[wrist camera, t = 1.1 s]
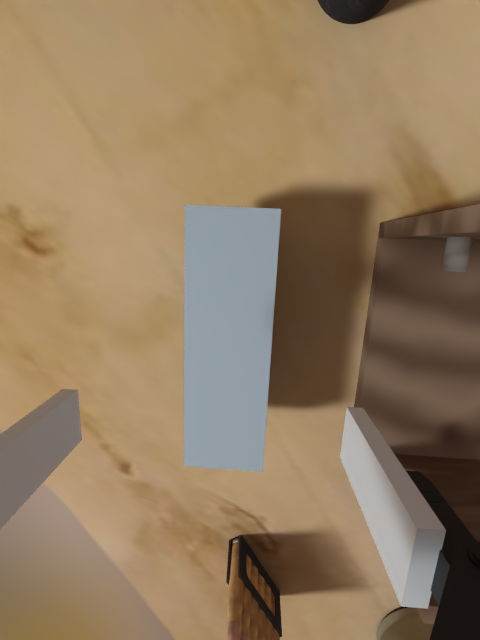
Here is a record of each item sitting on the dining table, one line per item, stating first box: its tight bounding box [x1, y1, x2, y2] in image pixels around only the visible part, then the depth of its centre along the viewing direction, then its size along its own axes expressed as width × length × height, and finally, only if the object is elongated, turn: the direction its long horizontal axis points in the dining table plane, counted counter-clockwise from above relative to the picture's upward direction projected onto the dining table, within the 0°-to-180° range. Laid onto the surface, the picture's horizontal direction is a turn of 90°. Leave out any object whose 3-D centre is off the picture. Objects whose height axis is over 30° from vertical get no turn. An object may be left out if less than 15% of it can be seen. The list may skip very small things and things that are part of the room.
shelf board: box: [184, 205, 281, 472], centre depth 27 cm, size 22×7×4 cm, turn 177°
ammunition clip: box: [227, 536, 282, 640], centre depth 36 cm, size 11×2×12 cm, turn 29°
